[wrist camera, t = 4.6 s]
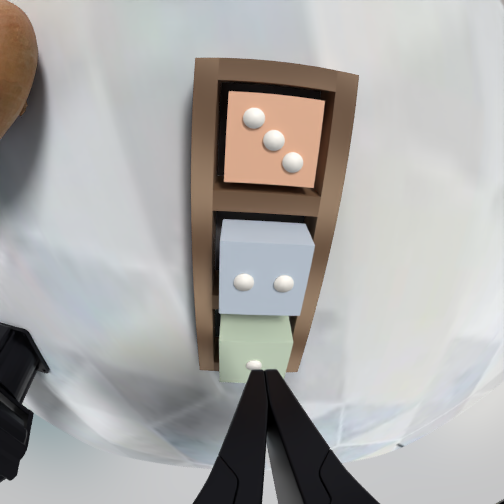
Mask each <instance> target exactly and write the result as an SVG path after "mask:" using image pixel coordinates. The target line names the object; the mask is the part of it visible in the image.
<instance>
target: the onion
mask: <svg viewBox="0 0 504 504" xmlns="http://www.w3.org/2000/svg"><path fill="white" fill-rule="evenodd" d="M37 60H38V47H37V41H36V36H35V33H34V29H33V26H32V24H31V22H30V20H29V18H28V17H27V15H26V14H25V13H24V12H23V11H22V10H21V9H20V8H19V7H17V6H16V5H14V4H12V3H10V2H9V1H7V0H0V139H1V138H2V137H3V136H4V134H5V133H6V131H7V130H8V129H9V128H10V127H11V125H12V124H13V123H14V121H15V120H16V118H17V117H18V116H19V115H20V116H21V115H22V114H23V113H24V112H25V111H26V107H27V101H26V100H27V98H28V95H29V93H30V90H31V87H32V84H33V80H34V77H35V72H36V68H37Z"/></svg>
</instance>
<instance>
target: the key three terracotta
mask: <svg viewBox="0 0 504 504" xmlns="http://www.w3.org/2000/svg"><path fill="white" fill-rule="evenodd" d="M324 105H325V101H323V100H316V99H310V98H302V97H294V96H286V95H276V94H266V93H252V92H235V91H229V96H228V112H227V129H226V148H225V169H224V182H238V183H256V184H271V185H285V186H297V187H308V188H314V181H315V175H316V168H317V161H318V153H319V146H320V138H321V130H322V122H323V114H324Z"/></svg>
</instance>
